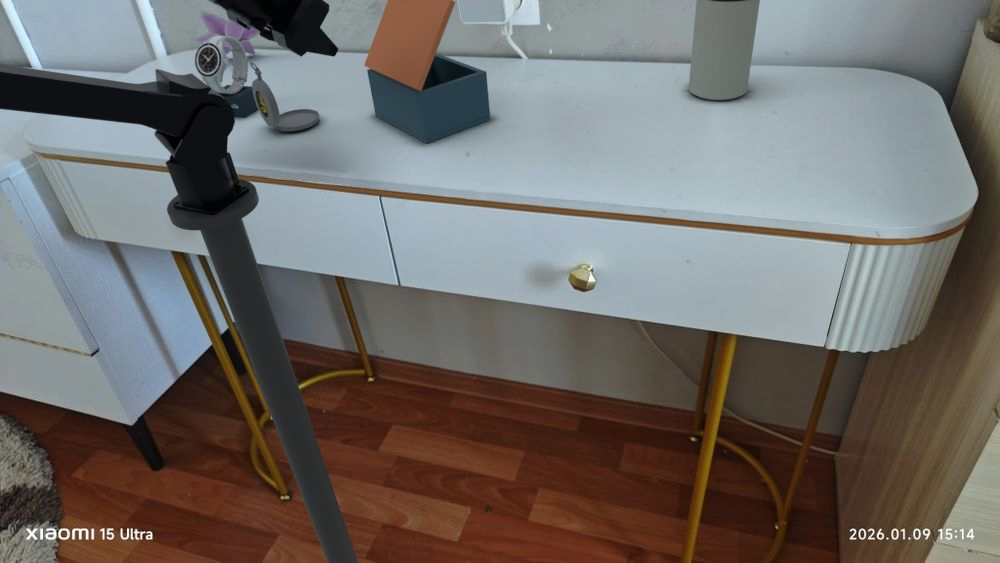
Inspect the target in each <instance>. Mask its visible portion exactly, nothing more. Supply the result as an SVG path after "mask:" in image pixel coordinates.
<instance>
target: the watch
mask: <svg viewBox="0 0 1000 563" xmlns="http://www.w3.org/2000/svg"><path fill="white" fill-rule="evenodd" d="M223 40H225V41H226V42H227V43H229V45H230V46H231V48H232V50H233V54H232V73H231V74H232V76H231V78H232V83H231V84H226V85H225V86H222V83H223V79H224V73H225V72H226V70H227V67H228V66H229V65H230V60H229V58H228V56H227V55H226V53H225V49H224V42H223ZM233 55H234V57H233ZM248 61H249V60H248V56H247V54H246V52H245V50H244V48H243V46H242V44H241V43H240V42H239V41H238V40H237V39H236V38H234V37H231V36H213V37H210V38H209V39H207V41H206V40H205V42H204V43H201V45H200V46H199V47H198V48H197V50H196V52H195V55H194V66H195V69H196V71H197V72H198V74H199V75H200V77H201V80H202V82H204V83H205V84H206V85H208V86H209V87H210V88H211V89H213V90H214V91H215V92H217V93H218V94H219V95H220V96H222V97H223V98H224V99H226V100H227V101H228V103H229V104H230V105H231V106H232V109H233V111H234V114H235V118H247V117H249V116H250V115H252V114H253V113H255V112H256V111H259V110H258V108H257V105H256V102H255V99H254V95H253V90H252V85H251V86H250V85H245V83H246V82H248V75H249V62H248Z"/></svg>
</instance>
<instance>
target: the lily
mask: <svg viewBox="0 0 1000 563" xmlns="http://www.w3.org/2000/svg"><path fill="white" fill-rule="evenodd" d="M198 15H199V18H200V20H201V21H202V23H203V25H204V26H205V28H206V30H207V31H208V32H206V33H203V34H202V35H199V36H197V37H196V38H194V39H193V41H192V42H193V43H195V44H203V43H204V42H205V40H206V41H207V39H209V38H210V37H213V36H231V37H234V38H236V39H237V40H238V41H239V42H240V43H241V44H242V46H243V48H244V50H245V53H247V54H249V55H252V56H256V51H255V48H254V46H253V45H252V43H251V42H250V41H251V40H252V39H254V38H256V37H258V36H260V31H258V30H256V29H254V28H252V27H251V28H250V30H247V29H245V28H243V27H241V26H239V25H238V24H236V23H235V22H233V21H231V20H230V19H226V18H224V17H223V16H220V15H217V14H215V13H211V12H207V11H199V12H198ZM223 42H224V49H225V53H226V56H227V55H228V54H230V53H232V58H233V57H234V55H233V50H232V48H231V46H230V45H229V43H227V42H226V41H225V40H223Z"/></svg>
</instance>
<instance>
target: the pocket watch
mask: <svg viewBox="0 0 1000 563" xmlns="http://www.w3.org/2000/svg"><path fill="white" fill-rule="evenodd" d="M249 62H250V63H249V64H250V66H251V68H252V69H253V71H254V74H255V75H256V77H257V78H255V79H254V80H253V81H252V83H251V86H252V90H253V95H254V99H255V102H256V105H257V108H258V110H257V111H258V112H259V114H260V116H261V118H262V119H263V121H264V122H265V124H266V125H267V127H270V128H274V129H275V130H277V131H279V132H297V131H302V130H305V129H309V128H310V127H313V126H314V125H316V124H317V123H318V122H319V120H320V113H319V112H318V111H317V110H315V109H310V108H299V109H293V110H289V111H285V112H283V113H280V110H279V106H278V103H277V100H276V98H275V95H274V93H273V91H272V89H271V87H270V86H269V84H267V83H266V81H265V80H264V79H263V77H262V71H261V70H260V68H259V67H258V66H257V64H255V63H254V62H253V61H249Z"/></svg>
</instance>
